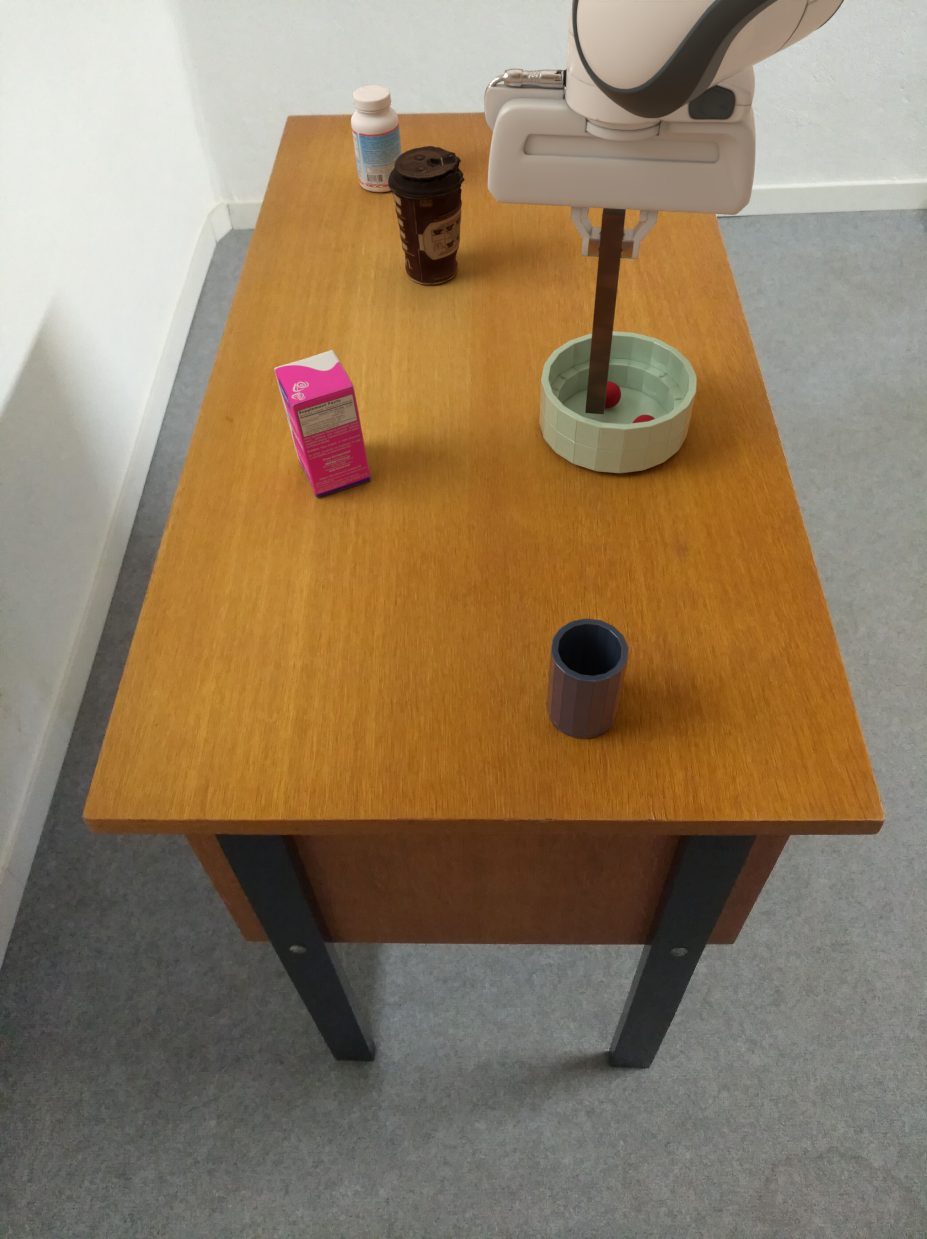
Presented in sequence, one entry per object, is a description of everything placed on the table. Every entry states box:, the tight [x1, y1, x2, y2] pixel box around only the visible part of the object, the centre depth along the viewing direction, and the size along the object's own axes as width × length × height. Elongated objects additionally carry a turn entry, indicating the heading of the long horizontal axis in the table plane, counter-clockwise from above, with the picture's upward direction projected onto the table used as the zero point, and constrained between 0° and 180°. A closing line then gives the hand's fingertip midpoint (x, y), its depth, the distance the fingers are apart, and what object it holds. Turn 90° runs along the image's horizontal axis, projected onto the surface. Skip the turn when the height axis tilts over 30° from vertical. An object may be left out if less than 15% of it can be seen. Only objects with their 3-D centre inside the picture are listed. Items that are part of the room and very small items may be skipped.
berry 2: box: [633, 415, 655, 423], centre depth 86 cm, size 3×3×3 cm
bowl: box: [538, 330, 698, 474], centre depth 86 cm, size 14×14×6 cm
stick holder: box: [546, 617, 630, 740], centre depth 66 cm, size 5×5×8 cm
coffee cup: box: [388, 145, 466, 285], centre depth 101 cm, size 9×8×13 cm
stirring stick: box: [585, 208, 627, 414], centre depth 79 cm, size 2×2×20 cm
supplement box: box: [273, 349, 372, 499], centre depth 82 cm, size 6×6×12 cm
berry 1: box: [605, 381, 621, 408], centre depth 89 cm, size 3×3×3 cm
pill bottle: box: [350, 84, 403, 193], centre depth 115 cm, size 6×6×11 cm
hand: (610, 254), depth 74 cm, fingers closed on stirring stick, 2 cm apart
